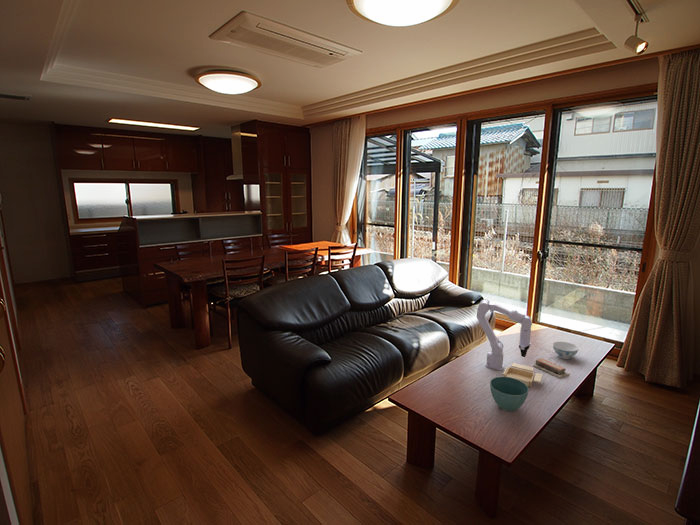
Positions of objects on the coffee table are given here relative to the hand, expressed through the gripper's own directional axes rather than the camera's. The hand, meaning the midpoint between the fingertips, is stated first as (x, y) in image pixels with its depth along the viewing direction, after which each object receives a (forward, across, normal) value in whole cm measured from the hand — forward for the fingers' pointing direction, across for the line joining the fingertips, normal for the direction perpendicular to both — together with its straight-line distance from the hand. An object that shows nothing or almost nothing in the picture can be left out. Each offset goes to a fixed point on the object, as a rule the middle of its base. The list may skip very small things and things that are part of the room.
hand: (523, 356), depth 225 cm
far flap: (+6, -11, -8) cm, 15 cm away
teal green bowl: (+10, -45, -1) cm, 46 cm away
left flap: (+6, -5, 0) cm, 8 cm away
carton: (+10, -11, 0) cm, 15 cm away
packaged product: (+11, +11, -15) cm, 21 cm away
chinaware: (+10, +37, -20) cm, 43 cm away
